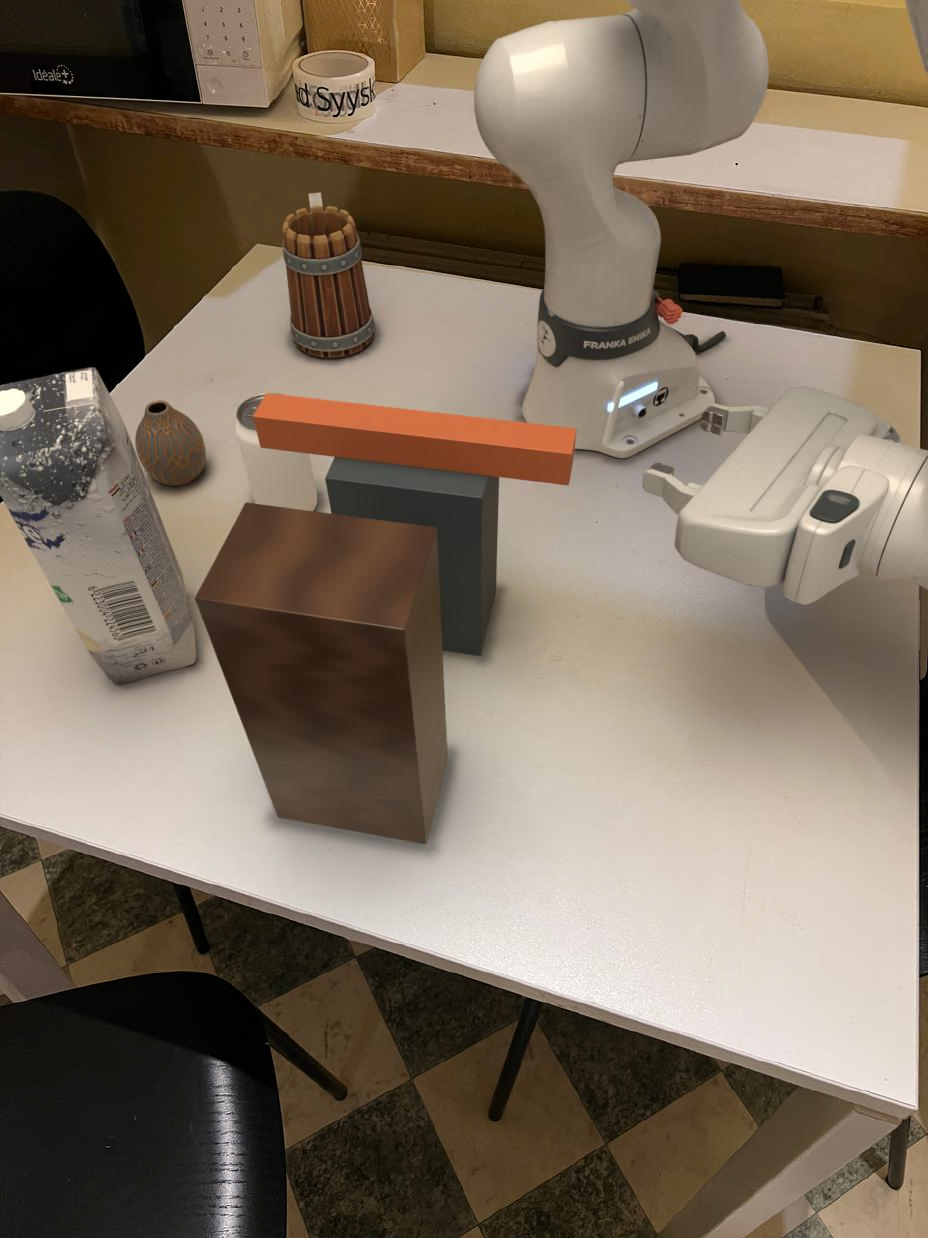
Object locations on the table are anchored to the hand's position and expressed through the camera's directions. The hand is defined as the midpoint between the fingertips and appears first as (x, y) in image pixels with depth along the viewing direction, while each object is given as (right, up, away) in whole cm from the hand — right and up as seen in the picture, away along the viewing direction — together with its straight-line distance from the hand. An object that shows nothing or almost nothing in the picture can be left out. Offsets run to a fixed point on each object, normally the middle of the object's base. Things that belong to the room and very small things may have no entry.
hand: (677, 444), depth 66 cm
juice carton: (-45, -15, +13) cm, 49 cm away
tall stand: (-24, -27, +3) cm, 36 cm away
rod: (-20, -1, 0) cm, 20 cm away
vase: (-47, +2, +28) cm, 55 cm away
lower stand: (-20, -13, +15) cm, 28 cm away
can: (-35, -1, +25) cm, 43 cm away
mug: (-33, +25, +47) cm, 62 cm away
